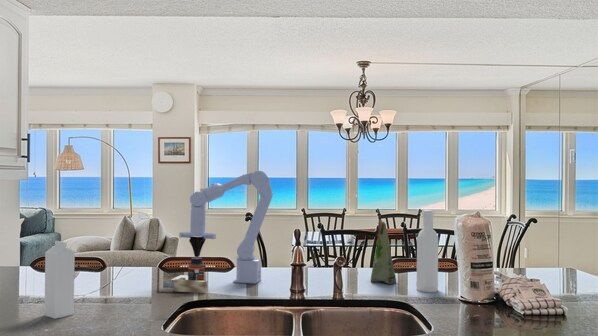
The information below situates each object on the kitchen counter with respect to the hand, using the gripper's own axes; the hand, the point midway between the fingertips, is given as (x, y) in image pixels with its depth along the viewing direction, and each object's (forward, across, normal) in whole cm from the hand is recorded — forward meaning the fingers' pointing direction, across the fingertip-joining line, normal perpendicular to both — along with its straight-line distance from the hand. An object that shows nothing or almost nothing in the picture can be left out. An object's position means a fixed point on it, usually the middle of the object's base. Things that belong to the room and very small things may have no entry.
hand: (197, 256), depth 205 cm
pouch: (+9, +72, +16) cm, 74 cm away
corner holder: (+10, +5, -15) cm, 19 cm away
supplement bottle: (+10, +5, -12) cm, 16 cm away
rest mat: (+10, -5, +2) cm, 11 cm away
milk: (+10, -22, -54) cm, 60 cm away
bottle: (+9, +89, +6) cm, 90 cm away
